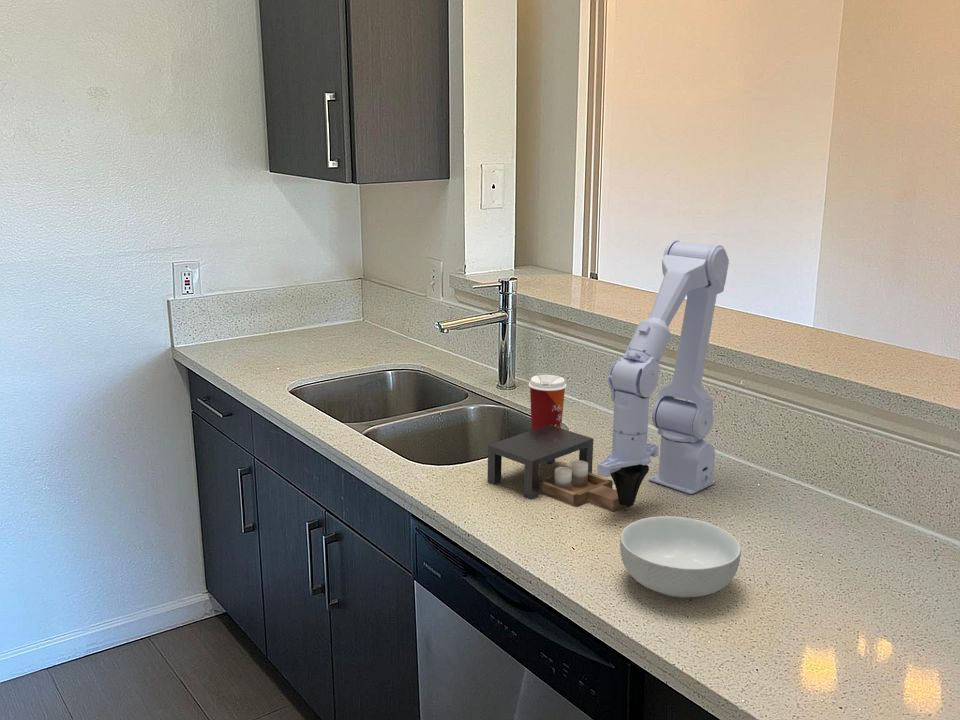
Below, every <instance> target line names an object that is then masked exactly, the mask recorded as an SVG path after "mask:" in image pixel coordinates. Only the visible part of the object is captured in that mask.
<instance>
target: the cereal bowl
mask: <svg viewBox="0 0 960 720" xmlns="http://www.w3.org/2000/svg"><path fill="white" fill-rule="evenodd" d="M619 542H620V543H619V547H620V548H619V550H620V557H621V561H622V564H623V565H624V568H625V569H626V571H627V573H628V574H629V575H630V576H631V577H632V578H633V579H634V580H635V581H637V582H638V583H639V584H641V586H644V587H645V588H648V589H649V590H651V591H654V592H656V593H659V594H662V595H664V596H668V597H672V598H679V599H680V598H681V599H683V598H685V599H686V598H688V599H689V598H698V597H704V596H708V595H712V594H714V593H717V592H719V591H720V590H723V589H724V588H725V587H726V586H728V584H729V583H730V582H732V580H733V579H734V578H735V576H736V575H737V572H738V568H739V567H740V562H741V555H742V547H741V544H740V542H739V541H738V539H737V538H736V537H734V536H733V534H731V533H729V532H728V531H726V530H725V529H723V528H721V527H719V526H717V525H714V524H712V523H710V522H707V521H703V520H698V519H695V518H689V517H684V516H683V517H682V516H671V515H667V516H666V515H665V516H663V515H662V516H651V517H646V518H641V519H639V520H636V521H633V522H631V523H629V524H628V525H626V527H625V528H624V529H623V530H622V531H621V534H620V540H619Z"/></svg>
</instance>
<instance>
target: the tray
mask: <svg viewBox="0 0 960 720" xmlns="http://www.w3.org/2000/svg"><path fill="white" fill-rule="evenodd" d="M570 466H571V468H570V467H568V466H558V467H556V468H554V474H553V475H551V476H549V477H546V478H543V479H541V480H539V493H540V494H542V495H544V496H547V497H551V498H552V499H556V500H558V501H560V502H564V503H566V504H568V505H571V506H574V507H577V508H578V507H579V506H582V505H584V504H587V503H590V504H592V505H595V506H597V507H600V508H603V509H604V510H607V511H611V512H615V511H617V510H620V509H621V508H623V507H624V506H623V505H620V504H619V499H618V495H617V490H616V489H614V488H613V483H614V481H613V479H610V478H606V477H604V476H601V475H598V474H594V473H593V472H592V473H589V472H588V463H587V462H586V461H581V460H579V459H578V460H573V461H571V465H570Z"/></svg>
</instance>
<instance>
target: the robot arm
mask: <svg viewBox="0 0 960 720" xmlns="http://www.w3.org/2000/svg"><path fill="white" fill-rule="evenodd" d="M662 256H663V258H662V259H661V269H662V275H663V279H662V281H661V284H660V288H659V290H658V293H657V295H656V298H655V301H654V303H653V306H652V309H651V312H650V314H649V317H648V318H646V319H643V320H641V321H640V322H639V323H638V325H637V327H636V329H635V332H634V333H633V335H632V338H631V340H630V342H629V344H628V346H627V348H626V351H625V353H624V355H623V357H621V358H620V359H617V360H616V361H614V362H613V363H612V365H611V367H610V369H609V375H607V376H608V377H607V383H608V387H609V388H610V392H611V393H610V395H611V397H610V399H611V401H612V402H613V420H612V421H613V423H612V424H613V425H612V446H611V447H612V448H611V449H612V450H611V452H609V454H608V455H607V456H606V457H605V458H604V459H603V460H602V461H600V462H598V463H597V468H596V469H597V470H596V471H597V472H596V473H597V474H596V475H598V476H600V477H603V478H606V479H608V478H609V477H611V478H612V479H611V480H612V481H613V483H614V485H615V486H614V487H615V490H617V495H618V499H619V504H620V505H623V507H626V508H631V507H633V506H634V504H635V501H636V498H637V495H638V492H639V490H640V486H641V484H642V482H643V480H644V478H645V477H646V475H647V474H648V473H649V470H650V466H649V464H651V463H652V458H657V457H658V456H659V461H658V473H656V474H654V475H651V476H649V477H648V481H650V482H653V483H655V484H659V485H661V486H662V485H663V486H664V487H668V488H671V489H674V490H676V491H679V492H682V493H686V494H688V495H693V494H696V493H697V492H700V491H702V490H704V489H706V488H708V487H710V486H712V485H714V484H715V483H716V480H714V468H715V456H716V452H715V448H714V445H713V444H712V443H710V442H707V441H706V440H704V439H705V438H706V437H707V436H708V435H709V433H710V432H711V429H712V428H713V424H714V413H713V412H714V410H713V409H714V398H713V397H712V395H711V394H710V393H709V392H708V391H707V390H706V389H705V388H704V387H703V386H702V381H703V377H704V371H705V364H706V359H707V358H706V357H707V353H708V348H709V342H710V336H711V331H712V330H711V329H712V324H713V319H714V312H715V308H716V301H717V296H718V295H719V294H722V293H723V292H724V291H725V290H724V289H725V285H726V281H727V275H728V270H729V269H728V268H729V265H730V263H729V262H730V260H729V256H728V253H727V251H726V249H725V247H724V246H723V245H721V244H715V245H714V244H704V243H697V242H696V243H693V242H686V241H684V242H683V241H680V240H676V239H675V240H672V241H670V242H669V243H668V245H667V246H666V248H665V250H664V253H663V255H662ZM685 298H686V301H685V307H684V313H683V319H682V326H681V330H680V331H681V332H680V337H679V343H678V348H677V355H676V360H675V365H674V370H673V371H674V373H673V379H672V381H671V382H670V383H668V384H666V385H664V386H663V387H661V388H660V389H659V390H658V395H657V397H656V400H655V402H654V405H653V408H652V411H651V421H652V425H653V426H654V427H655V429H657V434H658V435H660V443H659V444H660V445H658V444H655V443H651V442H648V429H649V413H650V412H649V409H650V396H652V394H653V393H654V392H655V389H656V388H657V385H658V383H659V373H660V370H661V365H660V364H659V363H660V362H661V360H662V358H663V355H664V353H665V351H666V348H667V346H668V344H669V342H670V340H671V337H672V334H671V331H670V328H669V326H670V325H671V322H672V321H673V319H674V317H675V316H676V314H677V313H678V310H679V309H680V307H681V306H682V303H683V302H684V300H685ZM659 447H660V448H659ZM651 457H652V458H651Z"/></svg>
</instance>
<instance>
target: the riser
mask: <svg viewBox="0 0 960 720" xmlns="http://www.w3.org/2000/svg"><path fill="white" fill-rule="evenodd" d="M574 452H578V460H581V461H586V462H587V463H588V472H589V473H592V474H593V463H594V462H593V460H594V457H593V455H594V438H593V437H590V436H586V435H583V434H580V433H577V432H573V431H571V430H568V429H564V428H562V427H561V428H558V427H555V426H552V425H546V426H543V427H540V428H537V429H534V430H532V429H531V430H529V431H526V432H523V433H519V434H517V435H516V434H515V435H513V436H511V437H508V438H504V439H501V440H499V441H496V442H493V443H490V444H487V483H490V484H492V485H497V484H500V483H502V464H503V462H502V460H503V459H502V458H506V459H508V460H511V461H514V462H516V463H519V464H522V465H524V477H523V478H524V480H523V481H524V482H523V483H524V487H523V488H524V489H523V497H524V498H526V499H527V498H528V499H529V500H533V499H536V498H538V497H539V481H540V465H542V464H548V465H550V464H553V463H555V462H556V459H558V458H561V457H564V456H567V455H569V454H572V453H574Z"/></svg>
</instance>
